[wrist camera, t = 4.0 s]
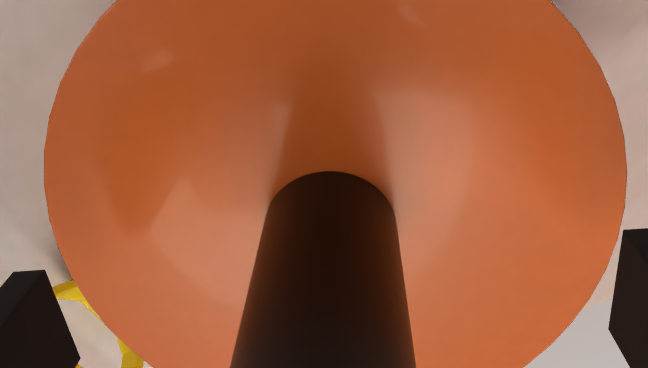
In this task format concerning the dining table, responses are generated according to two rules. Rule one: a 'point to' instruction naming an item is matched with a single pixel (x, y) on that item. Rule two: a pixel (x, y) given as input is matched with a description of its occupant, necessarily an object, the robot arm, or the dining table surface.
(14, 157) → the dining table surface
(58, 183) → the lid
